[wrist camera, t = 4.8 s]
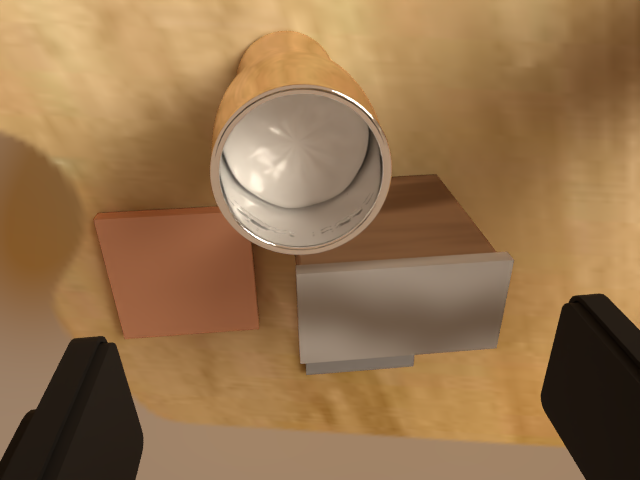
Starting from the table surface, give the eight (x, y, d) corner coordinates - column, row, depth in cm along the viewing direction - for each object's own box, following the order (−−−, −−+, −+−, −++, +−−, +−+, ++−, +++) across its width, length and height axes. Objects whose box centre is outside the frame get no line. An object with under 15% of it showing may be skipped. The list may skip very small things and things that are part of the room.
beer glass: (240, 145, 33) (225, 272, 20) (218, 30, 30) (182, 92, 17) (347, 131, 33) (401, 247, 20) (337, 14, 30) (394, 64, 17)
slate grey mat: (302, 280, 39) (302, 284, 38) (419, 272, 39) (422, 276, 39) (306, 369, 43) (306, 374, 42) (411, 361, 44) (413, 366, 43)
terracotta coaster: (97, 213, 34) (93, 219, 33) (248, 204, 35) (247, 211, 34) (127, 330, 39) (124, 338, 38) (259, 320, 40) (259, 328, 39)
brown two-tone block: (286, 178, 34) (296, 274, 24) (441, 170, 35) (513, 259, 25) (290, 251, 37) (300, 366, 27) (433, 242, 38) (495, 350, 28)
